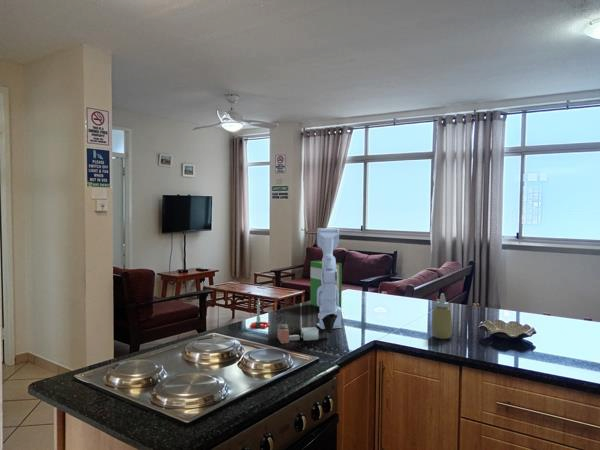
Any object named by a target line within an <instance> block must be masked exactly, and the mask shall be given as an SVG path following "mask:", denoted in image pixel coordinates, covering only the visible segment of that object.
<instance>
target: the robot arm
mask: <svg viewBox="0 0 600 450" xmlns="http://www.w3.org/2000/svg"><path fill="white" fill-rule="evenodd" d="M316 231H317V232H316V234H317V235H316V242H317V247H318V248H320V249H321V250H322V259H321V261H322V272H321V283H322V285H321V286H320V287H319V288H318V289H317V305H318V306H319V307H318V308H319V312H318V313H317V318H318V319H319V322H318V323H316V326H317V327H319V328H320V329H321V330H325V333H326V334H332V333H333V329H342V327H343V326H342V308H341V309H340V307H339V306H338V305H339V292H338V288H337V287H336V284H337V279H338V275H337V269H336V263H337V261H336V257H335V256H334V254H333V253H334V249H336V248H338V246H339V243H340V229H339V228H338V227H337V228H336V227H332V228H331V227H329V228H327V227H325V228H324V227H323V228H322V227H318V228H317V229H316ZM335 280H336V284H335Z"/></svg>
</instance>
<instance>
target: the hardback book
mask: <svg viewBox="0 0 600 450" xmlns="http://www.w3.org/2000/svg"><path fill="white" fill-rule="evenodd" d="M342 267H343V264H342V263H341V262H336V269H337V275H338V279H337V284H336V280H335V284H336V287H337V288H338V292H339V305H338V306H339V307H340V309H341V310H342V292H343V291H342V288H343V287H342V286H343V284H342V281H343V279H342V278H343V275H342V273H343V269H342ZM321 272H322V260H312V261H310V274H309V275H310V276H309V277H310V279H309V280H310V286H309V287H310V288H309V289H310V297H309V298H310V300H309V301H310V302H309V305H310V304H311V305H312V306H314V307H317V308H320V307H319V306H318V305H317V289H318V288H319V287H320V286H321V285H322V283H321Z"/></svg>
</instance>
